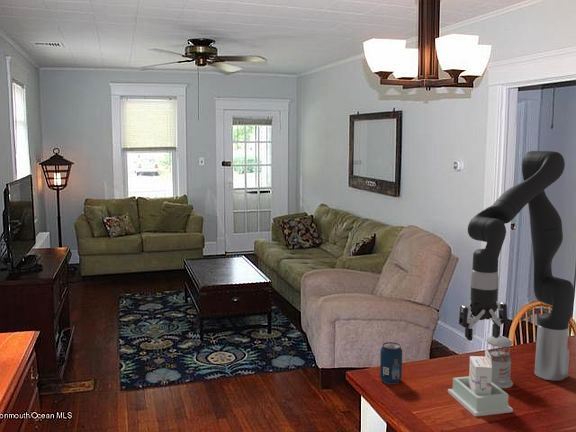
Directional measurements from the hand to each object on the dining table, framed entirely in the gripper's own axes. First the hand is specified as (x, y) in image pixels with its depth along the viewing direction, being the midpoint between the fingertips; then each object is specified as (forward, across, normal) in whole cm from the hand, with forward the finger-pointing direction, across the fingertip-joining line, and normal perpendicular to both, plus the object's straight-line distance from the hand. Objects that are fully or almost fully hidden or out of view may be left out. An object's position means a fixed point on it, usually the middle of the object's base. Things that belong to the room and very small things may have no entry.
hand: (482, 338), depth 171 cm
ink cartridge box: (+19, 0, 0) cm, 19 cm away
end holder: (+20, 0, 0) cm, 20 cm away
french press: (+20, -14, -12) cm, 27 cm away
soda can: (+20, +20, -20) cm, 35 cm away
